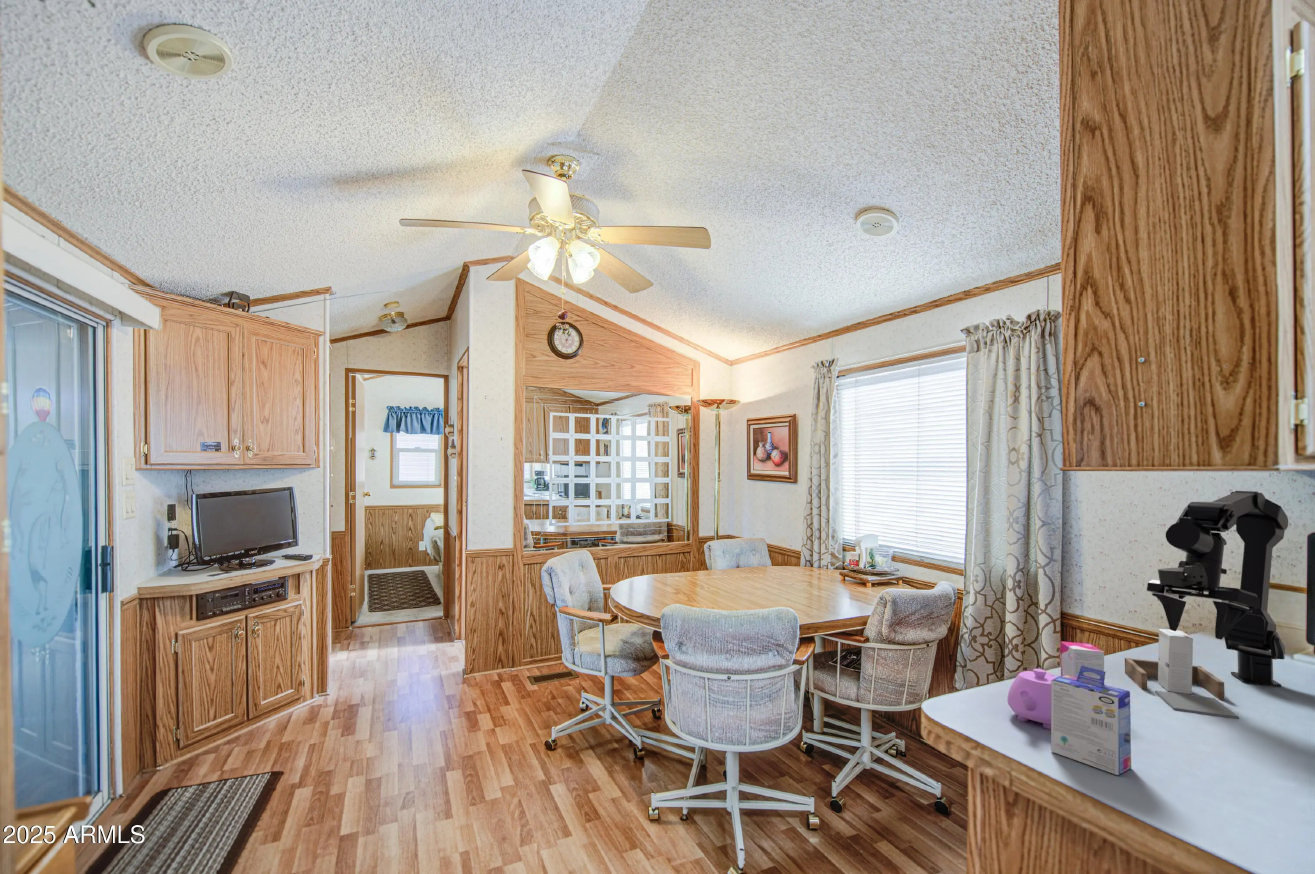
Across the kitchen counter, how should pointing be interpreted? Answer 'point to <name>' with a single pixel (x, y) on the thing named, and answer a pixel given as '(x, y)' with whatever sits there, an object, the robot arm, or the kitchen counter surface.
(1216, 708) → the charcoal mat
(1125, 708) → the ink cartridge box
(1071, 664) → the supplement box
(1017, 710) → the pink rounded plastic body
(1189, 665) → the skincare box
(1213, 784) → the kitchen counter surface
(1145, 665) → the walnut u-shaped bracket
